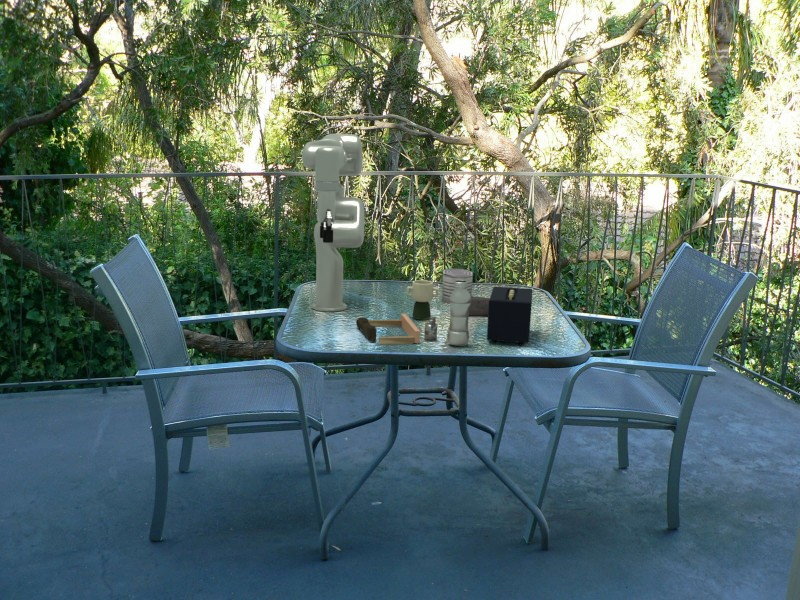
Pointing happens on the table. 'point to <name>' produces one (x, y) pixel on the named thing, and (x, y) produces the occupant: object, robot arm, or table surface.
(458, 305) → the plastic bottle
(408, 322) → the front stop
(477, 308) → the perforated stone tool
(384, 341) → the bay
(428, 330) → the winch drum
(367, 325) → the dark brown log
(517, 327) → the speaker
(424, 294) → the character mug
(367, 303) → the table surface
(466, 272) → the can
